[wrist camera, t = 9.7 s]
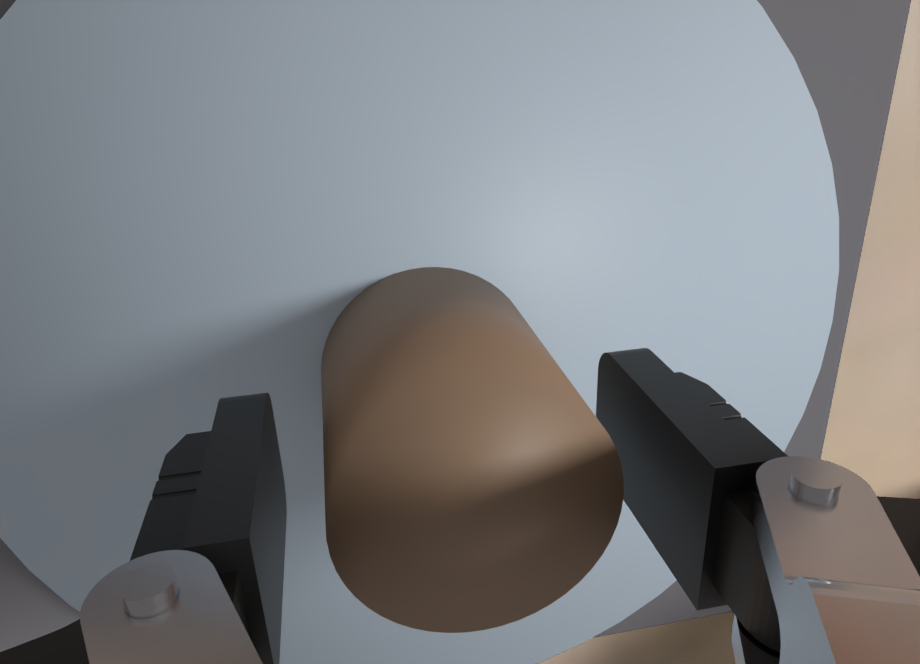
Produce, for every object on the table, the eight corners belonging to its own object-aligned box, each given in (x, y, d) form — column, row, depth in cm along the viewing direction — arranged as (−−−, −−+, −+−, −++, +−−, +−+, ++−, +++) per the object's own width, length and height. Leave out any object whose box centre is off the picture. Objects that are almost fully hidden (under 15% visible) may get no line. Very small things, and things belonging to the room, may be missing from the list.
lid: (871, -153, 12) (1268, -282, 7) (748, 592, 19) (908, 798, 14) (-232, -153, 10) (-848, -359, 5) (81, 714, 16) (-24, 1025, 11)
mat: (920, -173, 13) (946, -182, 12) (779, 584, 20) (792, 600, 20) (-348, -181, 10) (-386, -193, 9) (22, 724, 17) (13, 746, 16)
